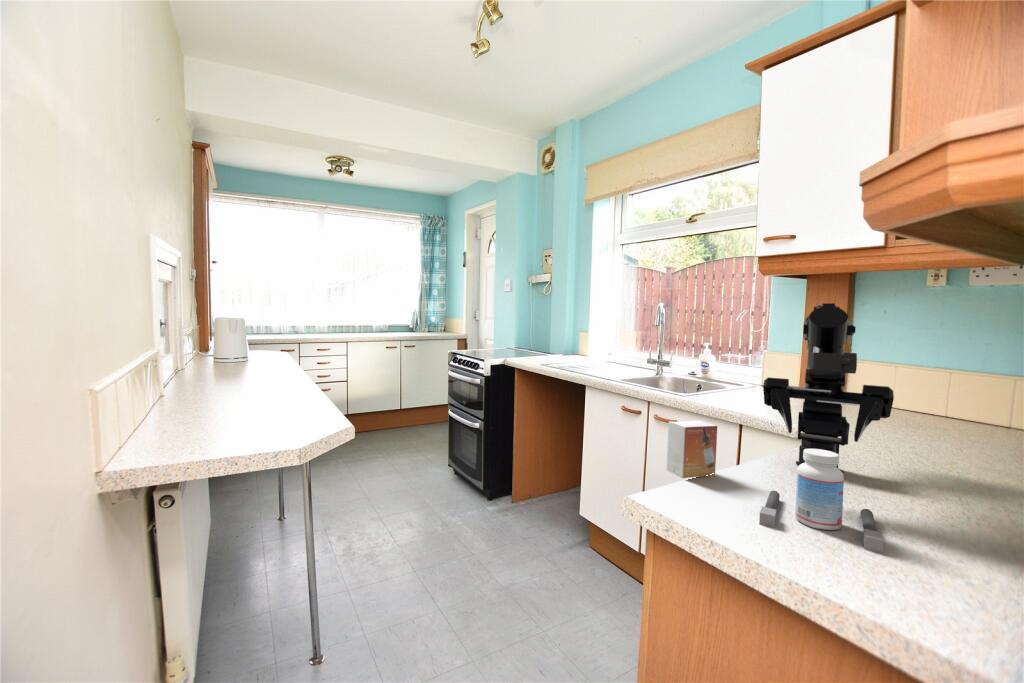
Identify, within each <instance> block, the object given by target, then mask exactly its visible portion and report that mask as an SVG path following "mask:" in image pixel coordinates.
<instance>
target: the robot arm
mask: <svg viewBox="0 0 1024 683" xmlns="http://www.w3.org/2000/svg"><path fill="white" fill-rule="evenodd" d="M804 319H805V320H804V321H803V329H802V330H803V331H802V334H803V339H804V341H807V347H806V348H807V361H806V369H805V374H804V375H805V376H804V384H805V386H795V385H794V386H793V385H790V379H789V378H781V377H770V376H769V377H766V379H764V380H763V385H762V387H763V388H762V389H763V402H764V405H766V406H767V407H771V409H772V410H776V411H777V412H778V413H779V414H780V417H781V418H782V419H783V421H784V424H785V427H786V429H787V431H788V433H789V434H792V431H793V419H792V418H793V417H792V408H791V407H792V406H791V399H792V398H793V399H801V400H804V401H803V402H802V411H798V417H797V418H798V422H797V440H801V444H800V445H799V449H798V460H796V461H795V464H796V465H798V466H799V465H801V464H802V463H805V460H804V459H803V451H804V449H821V450H827V451H831V452H834V453H837V454H838V455H839V454H840V446H842V447H844V446H845V445H849V436H850V435H849V434H850V427H851V426H850V423H849V422H848V420H847V417H846V416H843V405H847V406H848V405H849V406H859V408H858V413H857V418H856V424H855V428H854V434H853V435H854V436H853V437H854V438H853V439H854V441H853V442H856V443H858V442H859V440H860V439H861V437H862V435H863V433H864V432H865V430H866V428H868V426H869V425H870V424H871V423H872V422H873V421H874V422H875V421H876V422H879V421H880V420H881V419H888V418H891V413H892V408H893V403H894V399H895V397H894V396H895V395H894V390H893V389H892V388H891V387H890V386H886V385H874V384H873V385H872V384H862V391H861V392H860V393H859V392H853V391H852V392H850V391H844V390H845V388H844V387H845V385H846V374H853V375H855V374H856V373H857V366H858V356H857V355H858V354H857V352H845V344H846V341H847V340H850V339H851V338H852V336H853V335H854V334H856V326H854V325H853V323H852V322H851V321H849V314H848V313H847V312H846V311H845V310H843V309H842V308H841V307H840V306H838V305H836V303H834V302H833V303H831V302H830V303H825V302H823V303H822V305H820V304H819V305H818V304H817V305H816V306H813V310H812V311H811V312H810V313H809V315H808V316H806V318H804ZM839 456H840V455H839ZM836 468H838V469H839V470H840V471H841V472H842V473H843V474H844V472H845V471H844V469H841V468H839V464H838V465H837V466H836Z"/></svg>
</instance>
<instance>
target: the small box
mask: <svg viewBox="0 0 1024 683" xmlns="http://www.w3.org/2000/svg"><path fill="white" fill-rule="evenodd" d="M667 426H668V427H667V452H666V471H668V472H670V473H672V474H673V475H676V476H677V477H680V478H681V479H689V478H703V476H705V477H704V478H707V477H709V478H710V477H711V478H712V477H715V475H716V463H717V462H716V461H717V444H718V443H717V440H718V425H717V424H716V425H715V424H713V423H709V422H707V421H703V420H701V419H697V420H687V421H686V420H685V421H668V425H667ZM712 473H715V474H712ZM710 474H712V475H710ZM706 475H708V476H706Z"/></svg>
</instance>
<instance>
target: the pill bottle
mask: <svg viewBox="0 0 1024 683" xmlns="http://www.w3.org/2000/svg"><path fill="white" fill-rule="evenodd" d="M803 459H804V460H805V463H802V464H801V465H798V466H797V470H796V471H797V472H796V474H797V475H796V489H795V490H796V491H795V492H796V493H795V513H794V514H795V515H794V516H795V518H796V520H797V521H799V523H802V524H803V525H806V526H807V527H810V528H814V529H817V530H824V531H825V530H827V531H836V530H839V529H841V528H842V525H843V510H844V509H843V507H844V506H843V505H844V504H843V502H844V484H845V483H844V482H845V476H844V473H842V472H841V471H840V470H839V469H840V468H839V467H838V468H839V469H838V468H836V466H837V465H838V466H839V464H840V455H838V454H837V453H834V452H831V451H827V450H821V449H804V451H803Z"/></svg>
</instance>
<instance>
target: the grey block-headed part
mask: <svg viewBox="0 0 1024 683" xmlns="http://www.w3.org/2000/svg"><path fill="white" fill-rule="evenodd" d="M860 518H861V523H862V527H863V528H862V529H863V533H862V534H863V535H862V543H863V548H864V550H867V551H872V552H876V553H880V554H884V543H885V542H884V537H883V534H882V532H880V531H878V529H877V528H878V527H877V524H876V520H875V518H874V514H873V511H872V510H870V509H868V508H862V509H861V510H860Z"/></svg>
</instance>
